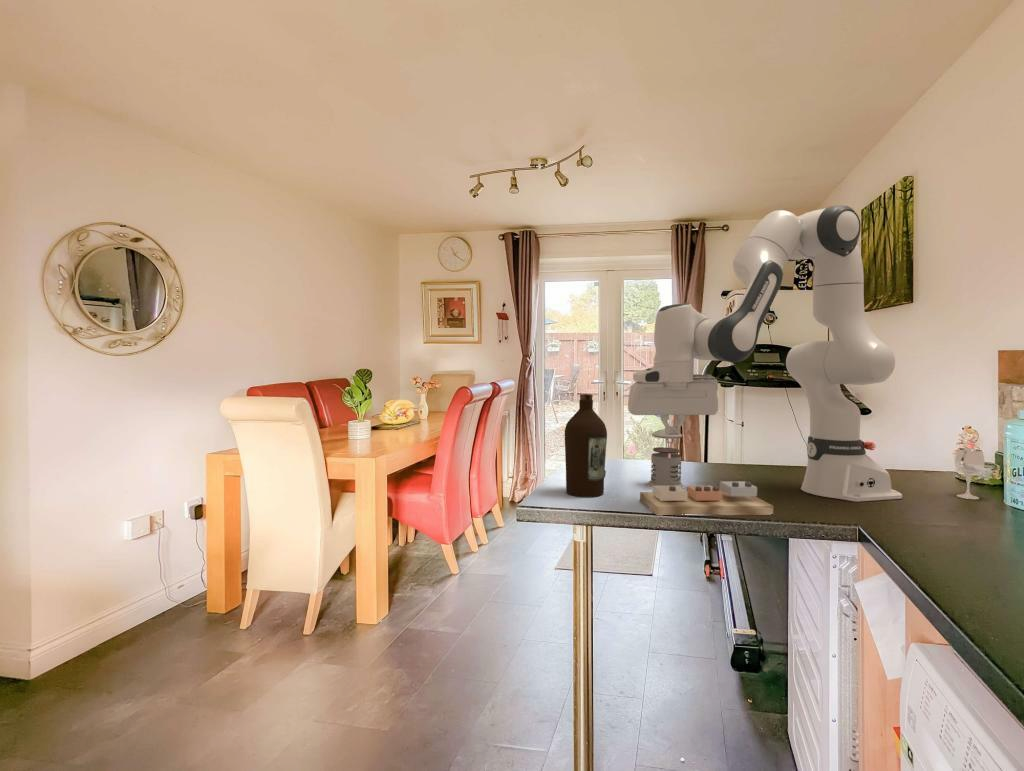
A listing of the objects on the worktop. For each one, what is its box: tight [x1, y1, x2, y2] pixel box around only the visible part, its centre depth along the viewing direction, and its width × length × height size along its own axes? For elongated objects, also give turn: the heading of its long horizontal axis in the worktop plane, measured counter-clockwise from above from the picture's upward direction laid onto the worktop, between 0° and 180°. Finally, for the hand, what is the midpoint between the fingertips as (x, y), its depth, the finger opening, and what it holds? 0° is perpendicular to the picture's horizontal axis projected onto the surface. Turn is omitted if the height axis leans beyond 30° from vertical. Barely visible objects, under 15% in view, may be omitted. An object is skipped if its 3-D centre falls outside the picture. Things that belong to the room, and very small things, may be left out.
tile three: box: [685, 485, 723, 501], centre depth 128 cm, size 6×6×3 cm
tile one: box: [652, 486, 687, 501], centre depth 127 cm, size 6×6×3 cm
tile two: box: [719, 480, 758, 497], centre depth 128 cm, size 6×6×3 cm
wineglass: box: [954, 447, 986, 500], centre depth 139 cm, size 6×6×12 cm
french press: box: [647, 428, 685, 489], centre depth 150 cm, size 10×12×25 cm
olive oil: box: [564, 393, 608, 498], centre depth 140 cm, size 11×11×25 cm
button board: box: [639, 491, 774, 517], centre depth 128 cm, size 26×13×2 cm, turn 93°
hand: (672, 434), depth 128 cm, fingers closed
